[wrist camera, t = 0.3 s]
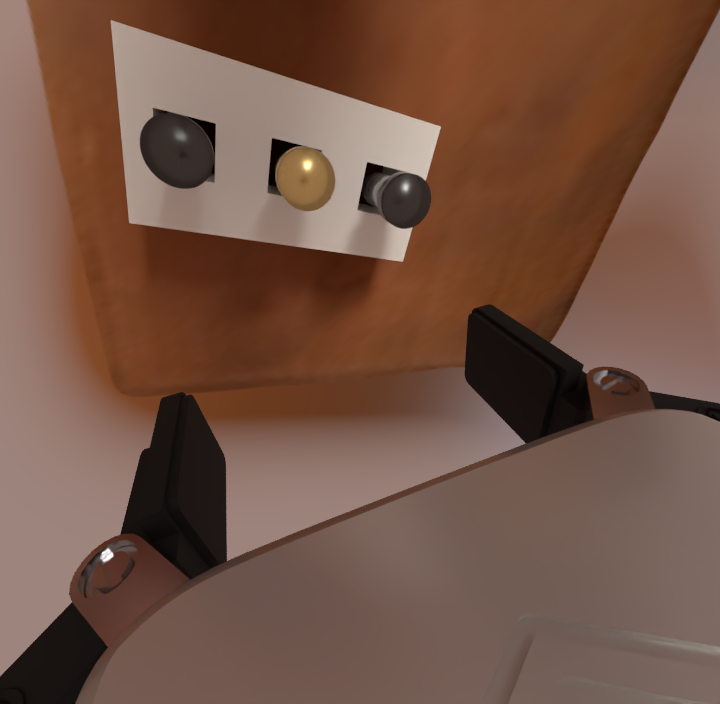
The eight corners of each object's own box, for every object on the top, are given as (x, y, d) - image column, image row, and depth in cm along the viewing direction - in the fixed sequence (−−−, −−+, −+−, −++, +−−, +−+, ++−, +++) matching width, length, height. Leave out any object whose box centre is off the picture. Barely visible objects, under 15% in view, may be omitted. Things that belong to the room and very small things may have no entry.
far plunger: (361, 160, 31) (391, 168, 26) (401, 170, 33) (437, 180, 27) (352, 207, 33) (378, 224, 28) (389, 214, 35) (422, 232, 29)
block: (131, 38, 26) (110, 20, 21) (411, 126, 35) (440, 126, 30) (143, 208, 32) (129, 223, 27) (381, 245, 41) (402, 261, 36)
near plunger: (155, 108, 25) (136, 103, 20) (216, 123, 27) (214, 123, 21) (158, 169, 27) (142, 181, 21) (214, 180, 29) (213, 194, 23)
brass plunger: (269, 137, 28) (281, 140, 23) (318, 149, 30) (340, 155, 24) (265, 190, 30) (275, 205, 24) (310, 199, 32) (329, 215, 26)
